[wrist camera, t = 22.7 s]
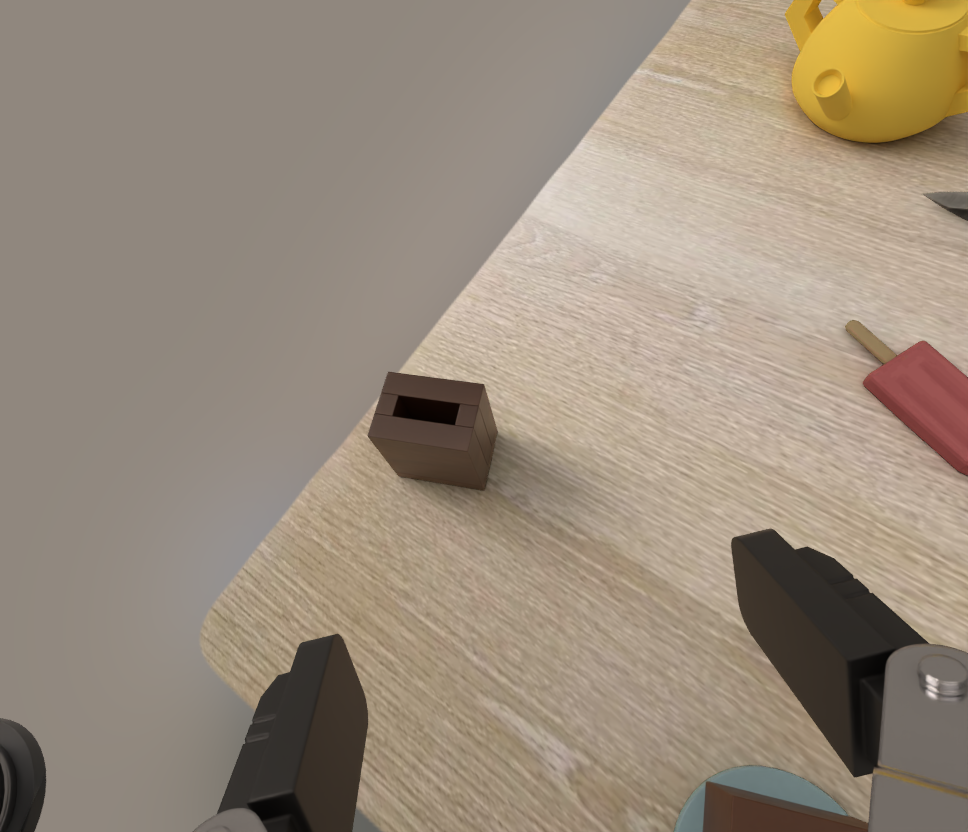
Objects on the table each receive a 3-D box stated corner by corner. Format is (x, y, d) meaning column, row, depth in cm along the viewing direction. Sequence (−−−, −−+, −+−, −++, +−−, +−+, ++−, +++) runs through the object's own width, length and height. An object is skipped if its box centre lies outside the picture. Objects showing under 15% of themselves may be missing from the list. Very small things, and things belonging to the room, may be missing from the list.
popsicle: (880, 299, 48) (1056, 449, 41) (871, 311, 49) (1040, 458, 42) (825, 334, 47) (995, 491, 40) (817, 344, 48) (981, 499, 42)
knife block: (484, 490, 47) (467, 451, 40) (398, 476, 48) (367, 436, 41) (498, 431, 49) (484, 383, 42) (414, 419, 50) (387, 371, 43)
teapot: (703, 119, 60) (727, 3, 50) (818, 19, 64) (862, -106, 54) (896, 220, 52) (970, 107, 42) (1015, 100, 56) (1109, -31, 46)
